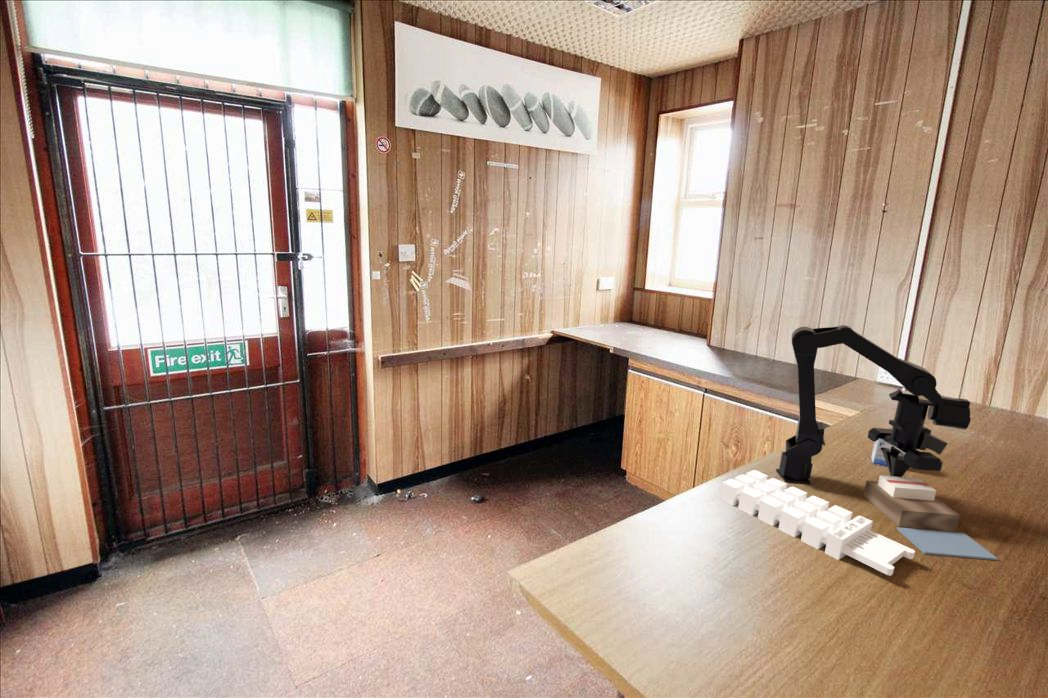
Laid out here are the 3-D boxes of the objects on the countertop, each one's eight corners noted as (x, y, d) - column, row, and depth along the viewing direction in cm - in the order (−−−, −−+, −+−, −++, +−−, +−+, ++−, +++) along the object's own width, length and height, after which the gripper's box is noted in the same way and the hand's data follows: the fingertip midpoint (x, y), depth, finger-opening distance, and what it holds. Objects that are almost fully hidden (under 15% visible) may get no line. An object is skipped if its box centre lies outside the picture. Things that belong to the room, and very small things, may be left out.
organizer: (754, 469, 129) (920, 541, 101) (751, 487, 130) (914, 563, 102) (722, 482, 122) (891, 563, 94) (719, 500, 123) (885, 586, 95)
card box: (892, 497, 119) (895, 486, 119) (877, 484, 125) (879, 474, 125) (933, 500, 119) (936, 490, 118) (916, 488, 125) (919, 478, 124)
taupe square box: (898, 526, 114) (902, 510, 114) (863, 495, 128) (866, 480, 127) (955, 531, 114) (960, 515, 113) (914, 499, 127) (917, 484, 126)
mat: (924, 553, 105) (924, 551, 105) (896, 528, 114) (897, 527, 113) (997, 560, 104) (997, 558, 104) (963, 534, 113) (964, 533, 113)
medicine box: (872, 463, 147) (878, 435, 145) (870, 458, 151) (876, 430, 149) (906, 471, 144) (913, 441, 142) (903, 465, 148) (910, 436, 146)
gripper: (975, 438, 113) (958, 503, 116) (918, 409, 131) (904, 466, 134) (922, 434, 113) (906, 499, 117) (872, 406, 131) (860, 463, 135)
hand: (895, 480), depth 126 cm, fingers closed
